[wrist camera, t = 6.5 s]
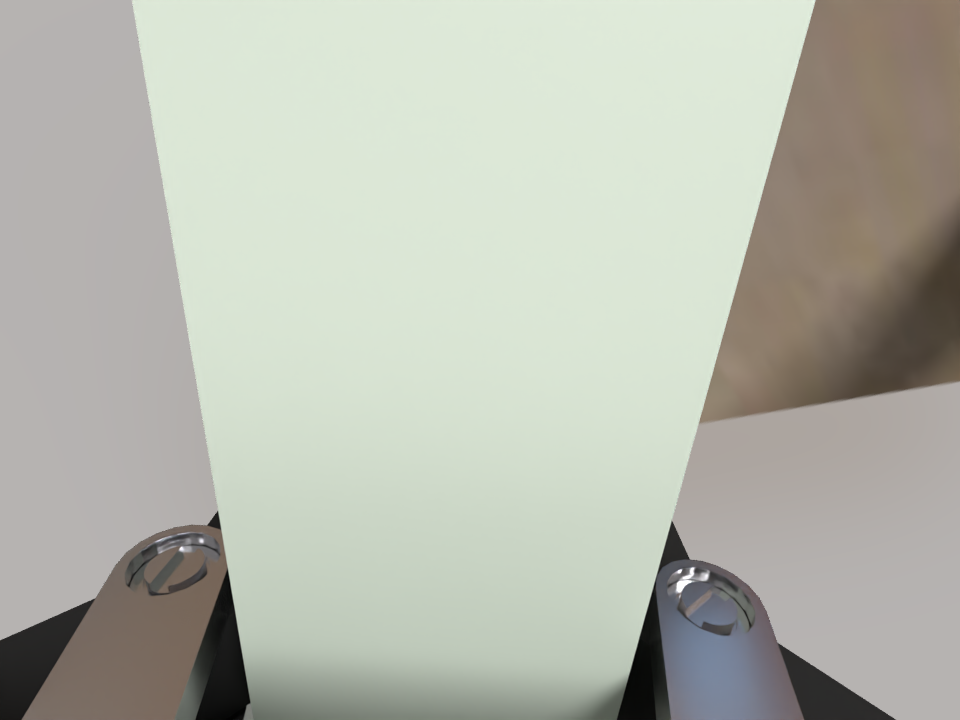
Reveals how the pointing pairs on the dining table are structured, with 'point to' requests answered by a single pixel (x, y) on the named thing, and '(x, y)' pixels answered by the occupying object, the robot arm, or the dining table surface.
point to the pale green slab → (456, 323)
